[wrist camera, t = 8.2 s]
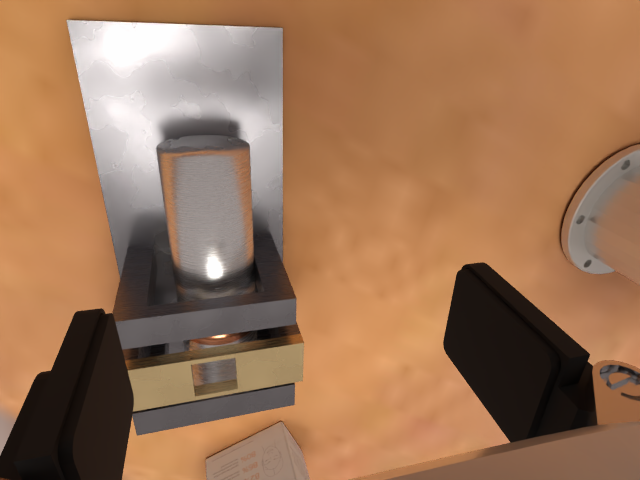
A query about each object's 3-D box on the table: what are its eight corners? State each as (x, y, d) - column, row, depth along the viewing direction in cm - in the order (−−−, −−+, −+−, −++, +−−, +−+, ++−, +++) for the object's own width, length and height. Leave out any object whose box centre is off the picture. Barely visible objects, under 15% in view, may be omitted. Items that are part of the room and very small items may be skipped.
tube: (143, 140, 24) (173, 165, 21) (227, 131, 27) (267, 151, 23) (179, 376, 32) (205, 424, 29) (241, 351, 35) (271, 392, 32)
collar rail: (280, 27, 25) (322, 36, 17) (281, 355, 36) (306, 444, 29) (69, 19, 22) (11, 25, 15) (142, 378, 34) (131, 483, 26)
